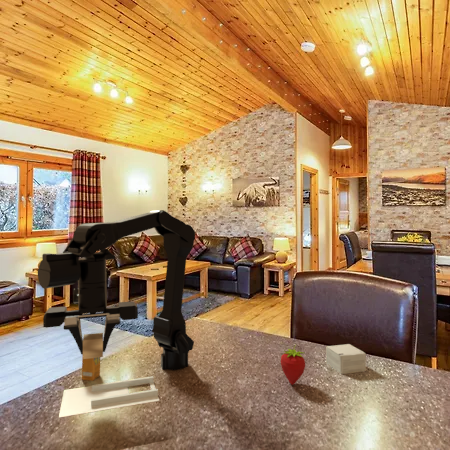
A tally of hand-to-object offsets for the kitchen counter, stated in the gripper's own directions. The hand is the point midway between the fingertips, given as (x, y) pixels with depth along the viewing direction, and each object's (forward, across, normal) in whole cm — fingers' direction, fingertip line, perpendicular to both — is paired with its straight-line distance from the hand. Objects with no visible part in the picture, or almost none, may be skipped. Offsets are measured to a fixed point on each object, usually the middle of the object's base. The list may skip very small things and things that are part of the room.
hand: (93, 352), depth 77 cm
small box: (+13, -66, 0) cm, 67 cm away
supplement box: (+12, +1, -12) cm, 17 cm away
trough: (+12, -4, -1) cm, 12 cm away
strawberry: (+12, -46, +5) cm, 48 cm away
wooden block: (0, 0, 0) cm, 0 cm away
